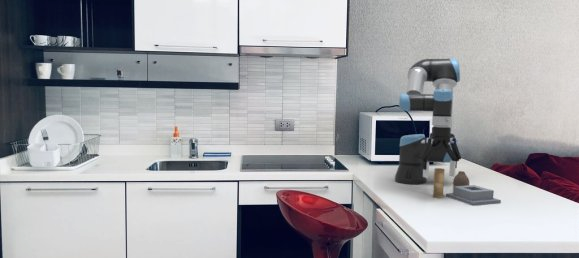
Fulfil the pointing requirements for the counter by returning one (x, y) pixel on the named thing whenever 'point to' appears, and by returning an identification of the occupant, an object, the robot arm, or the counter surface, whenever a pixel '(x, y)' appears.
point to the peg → (438, 183)
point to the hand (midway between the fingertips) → (439, 176)
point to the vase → (461, 179)
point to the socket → (473, 195)
